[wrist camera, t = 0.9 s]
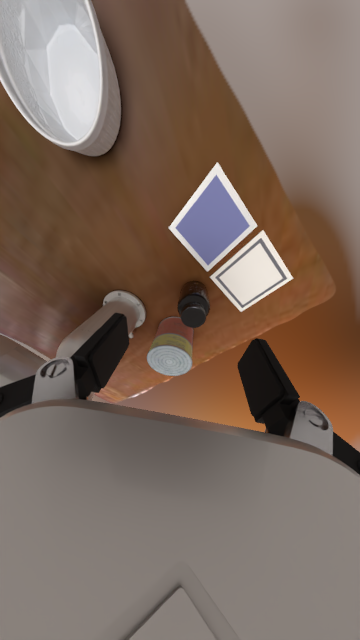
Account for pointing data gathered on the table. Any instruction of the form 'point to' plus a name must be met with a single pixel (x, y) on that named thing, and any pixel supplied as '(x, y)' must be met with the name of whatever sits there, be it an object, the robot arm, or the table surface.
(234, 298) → the marked card
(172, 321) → the canned food
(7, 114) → the table surface
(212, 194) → the ink pad
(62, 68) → the ramekin
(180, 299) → the supplement bottle
